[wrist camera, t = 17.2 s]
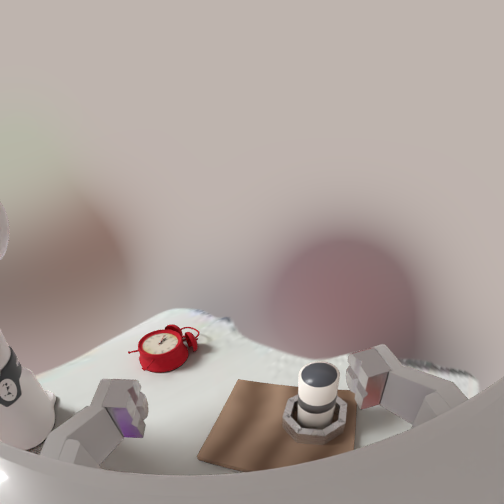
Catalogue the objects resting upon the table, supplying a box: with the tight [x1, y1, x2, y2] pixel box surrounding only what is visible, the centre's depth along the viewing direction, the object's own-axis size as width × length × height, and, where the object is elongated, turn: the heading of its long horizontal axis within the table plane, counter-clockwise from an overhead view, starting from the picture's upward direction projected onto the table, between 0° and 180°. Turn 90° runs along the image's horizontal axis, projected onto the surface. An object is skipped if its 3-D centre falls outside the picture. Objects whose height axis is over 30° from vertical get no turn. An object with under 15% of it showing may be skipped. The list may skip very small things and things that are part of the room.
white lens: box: [297, 361, 340, 430], centre depth 34 cm, size 5×5×10 cm
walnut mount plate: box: [197, 379, 357, 472], centre depth 35 cm, size 20×17×1 cm
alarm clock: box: [128, 325, 199, 372], centre depth 55 cm, size 10×6×15 cm
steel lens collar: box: [282, 394, 347, 445], centre depth 35 cm, size 9×9×2 cm
